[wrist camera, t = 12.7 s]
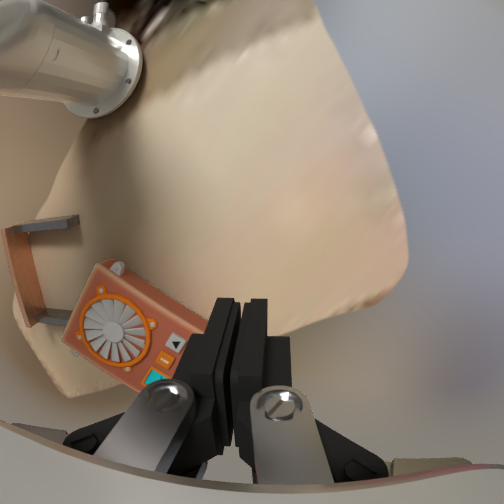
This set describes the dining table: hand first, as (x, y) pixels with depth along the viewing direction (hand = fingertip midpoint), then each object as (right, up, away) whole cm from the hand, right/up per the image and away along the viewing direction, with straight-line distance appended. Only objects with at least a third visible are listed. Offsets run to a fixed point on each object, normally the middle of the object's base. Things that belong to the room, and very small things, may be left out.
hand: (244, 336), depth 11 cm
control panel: (-9, -3, +27) cm, 29 cm away
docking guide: (-29, 0, +31) cm, 43 cm away
